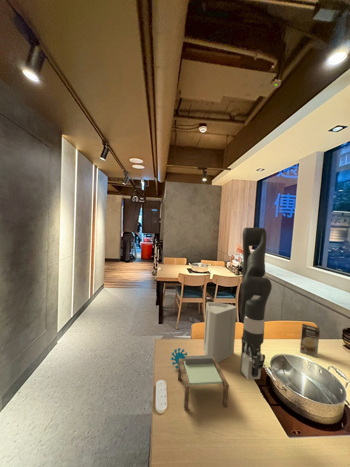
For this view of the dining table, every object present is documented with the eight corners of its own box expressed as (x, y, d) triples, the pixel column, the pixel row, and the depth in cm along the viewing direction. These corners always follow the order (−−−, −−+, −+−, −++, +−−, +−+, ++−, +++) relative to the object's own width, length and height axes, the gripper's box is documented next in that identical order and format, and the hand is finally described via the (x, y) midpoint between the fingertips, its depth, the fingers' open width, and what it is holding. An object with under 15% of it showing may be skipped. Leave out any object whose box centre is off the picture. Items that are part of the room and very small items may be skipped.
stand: (177, 377, 102) (178, 358, 101) (213, 376, 104) (214, 357, 104) (184, 410, 84) (185, 387, 83) (227, 407, 86) (228, 384, 86)
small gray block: (253, 369, 84) (254, 352, 84) (260, 378, 79) (261, 360, 79) (241, 370, 83) (242, 353, 83) (247, 379, 78) (248, 361, 78)
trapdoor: (183, 363, 100) (183, 355, 100) (211, 362, 102) (212, 355, 102) (189, 385, 86) (190, 376, 86) (222, 383, 88) (222, 375, 88)
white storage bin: (215, 342, 136) (217, 299, 135) (234, 353, 125) (237, 307, 124) (193, 351, 124) (196, 305, 123) (213, 365, 113) (216, 314, 112)
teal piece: (172, 369, 105) (171, 347, 112) (168, 372, 109) (167, 350, 116) (192, 369, 108) (190, 347, 115) (188, 371, 112) (185, 351, 119)
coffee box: (299, 352, 130) (301, 326, 129) (299, 347, 135) (301, 323, 135) (317, 358, 125) (319, 331, 124) (317, 352, 130) (319, 327, 130)
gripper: (273, 337, 74) (270, 384, 75) (253, 319, 88) (250, 358, 89) (254, 338, 73) (251, 385, 74) (236, 319, 87) (233, 359, 88)
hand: (250, 370), depth 81 cm, fingers closed on small gray block, 5 cm apart
